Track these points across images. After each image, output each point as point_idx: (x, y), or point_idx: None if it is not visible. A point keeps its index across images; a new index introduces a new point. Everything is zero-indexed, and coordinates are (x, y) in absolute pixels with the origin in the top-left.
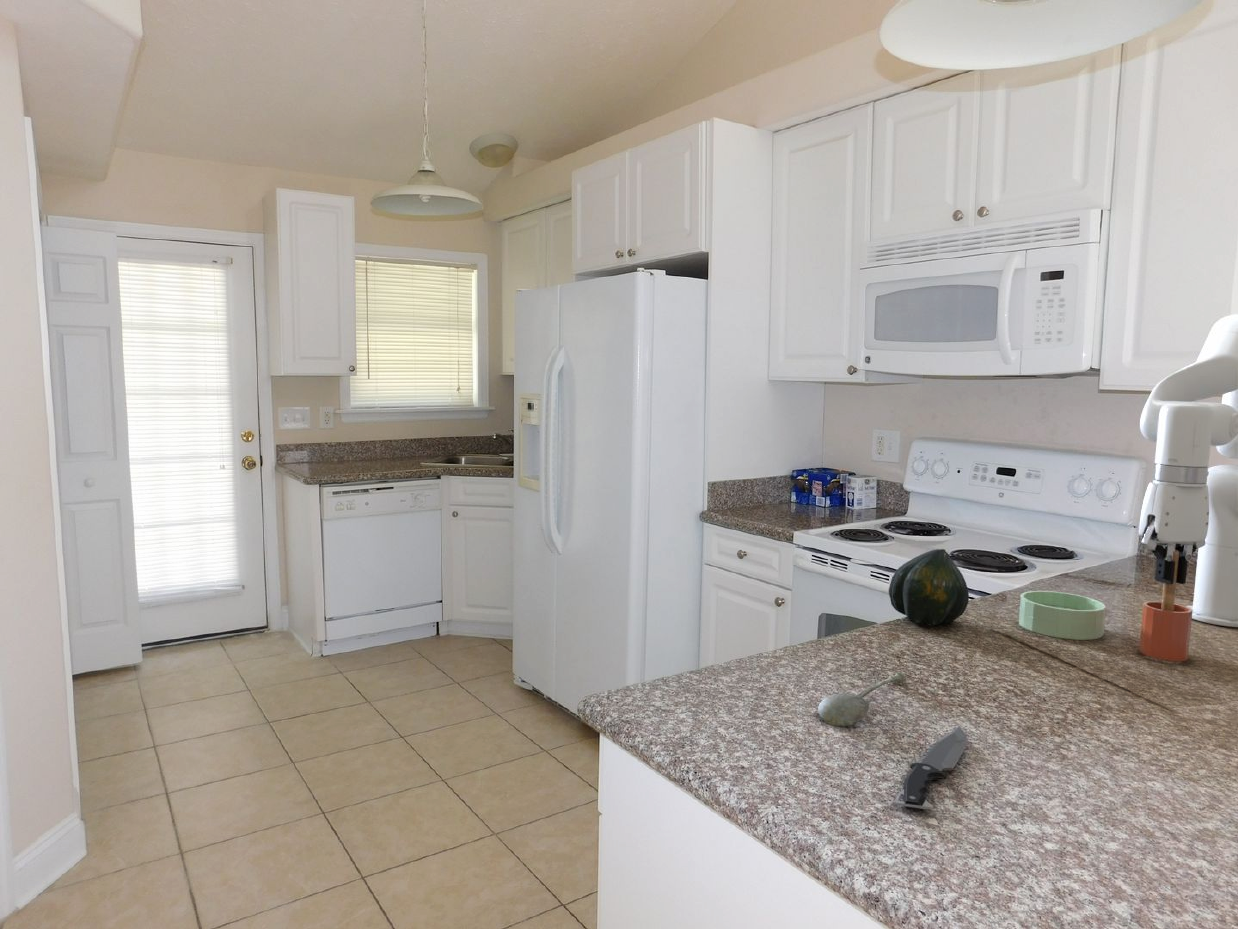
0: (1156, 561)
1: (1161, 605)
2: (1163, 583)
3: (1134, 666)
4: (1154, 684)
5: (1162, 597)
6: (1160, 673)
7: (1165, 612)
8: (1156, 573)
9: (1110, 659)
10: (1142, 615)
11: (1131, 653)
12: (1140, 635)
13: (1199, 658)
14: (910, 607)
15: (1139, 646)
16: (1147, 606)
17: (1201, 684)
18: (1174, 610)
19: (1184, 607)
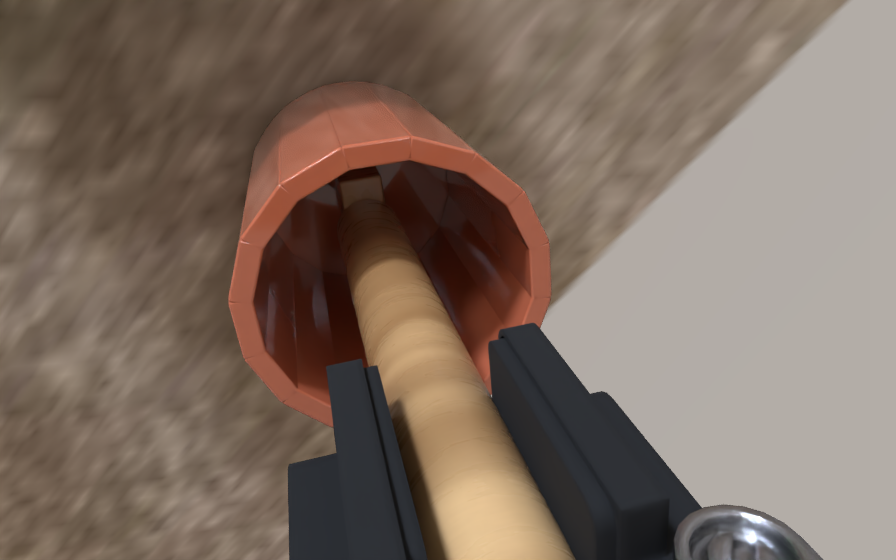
0: (350, 530)
1: (360, 291)
2: (391, 388)
3: (113, 313)
4: (72, 507)
5: (365, 330)
6: (189, 389)
7: (292, 405)
8: (288, 491)
9: (31, 218)
10: (246, 206)
11: (226, 119)
12: (270, 140)
13: (533, 193)
14: None
15: (271, 127)
16: (230, 301)
17: (283, 483)
18: (504, 213)
19: (530, 294)
